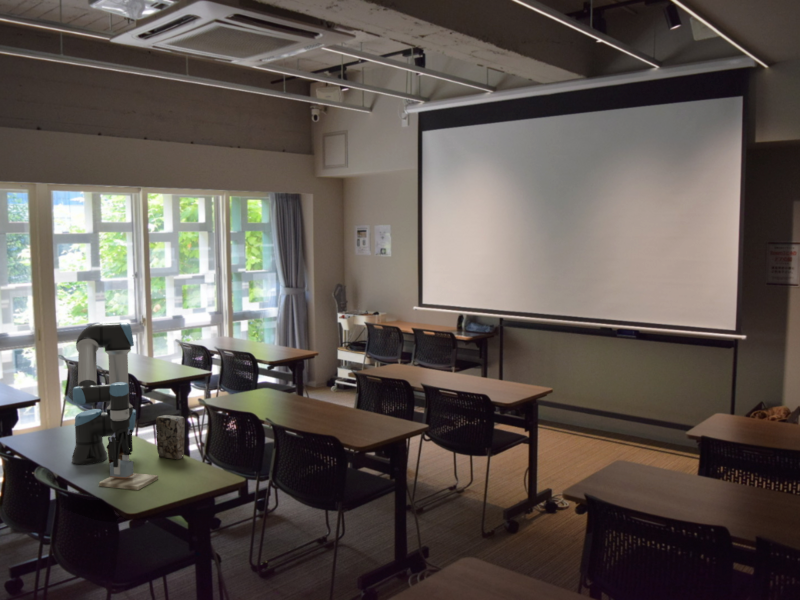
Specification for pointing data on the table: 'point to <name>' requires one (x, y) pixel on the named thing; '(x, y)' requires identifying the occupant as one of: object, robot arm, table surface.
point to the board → (129, 481)
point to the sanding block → (123, 469)
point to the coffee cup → (119, 454)
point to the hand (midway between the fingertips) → (121, 471)
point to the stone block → (170, 436)
